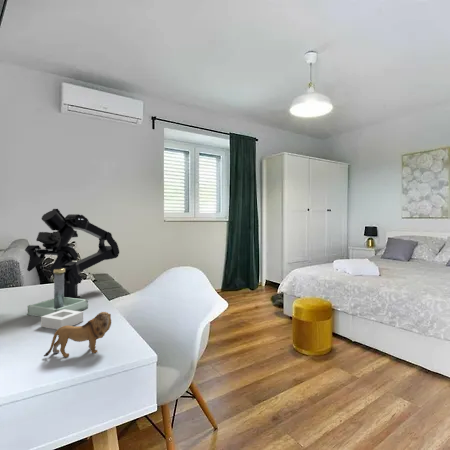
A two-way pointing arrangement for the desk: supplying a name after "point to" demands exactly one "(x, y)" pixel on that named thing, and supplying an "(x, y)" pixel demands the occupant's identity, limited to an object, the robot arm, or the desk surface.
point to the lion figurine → (82, 333)
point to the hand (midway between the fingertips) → (39, 271)
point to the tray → (48, 308)
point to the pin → (58, 287)
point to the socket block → (61, 319)
